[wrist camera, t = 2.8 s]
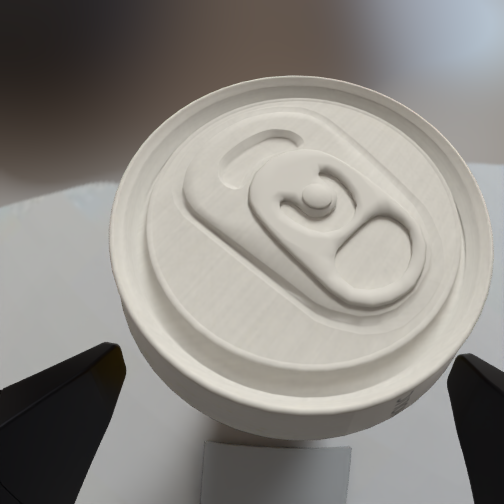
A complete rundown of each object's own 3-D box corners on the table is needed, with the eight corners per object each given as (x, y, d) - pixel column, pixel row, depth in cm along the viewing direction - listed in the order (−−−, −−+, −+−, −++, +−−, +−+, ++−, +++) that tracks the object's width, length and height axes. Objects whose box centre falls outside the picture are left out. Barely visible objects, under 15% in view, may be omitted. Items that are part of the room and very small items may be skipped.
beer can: (287, 285, 19) (300, 39, 6) (358, 356, 17) (549, 213, 3) (209, 350, 18) (37, 192, 4) (279, 429, 15) (293, 558, 2)
